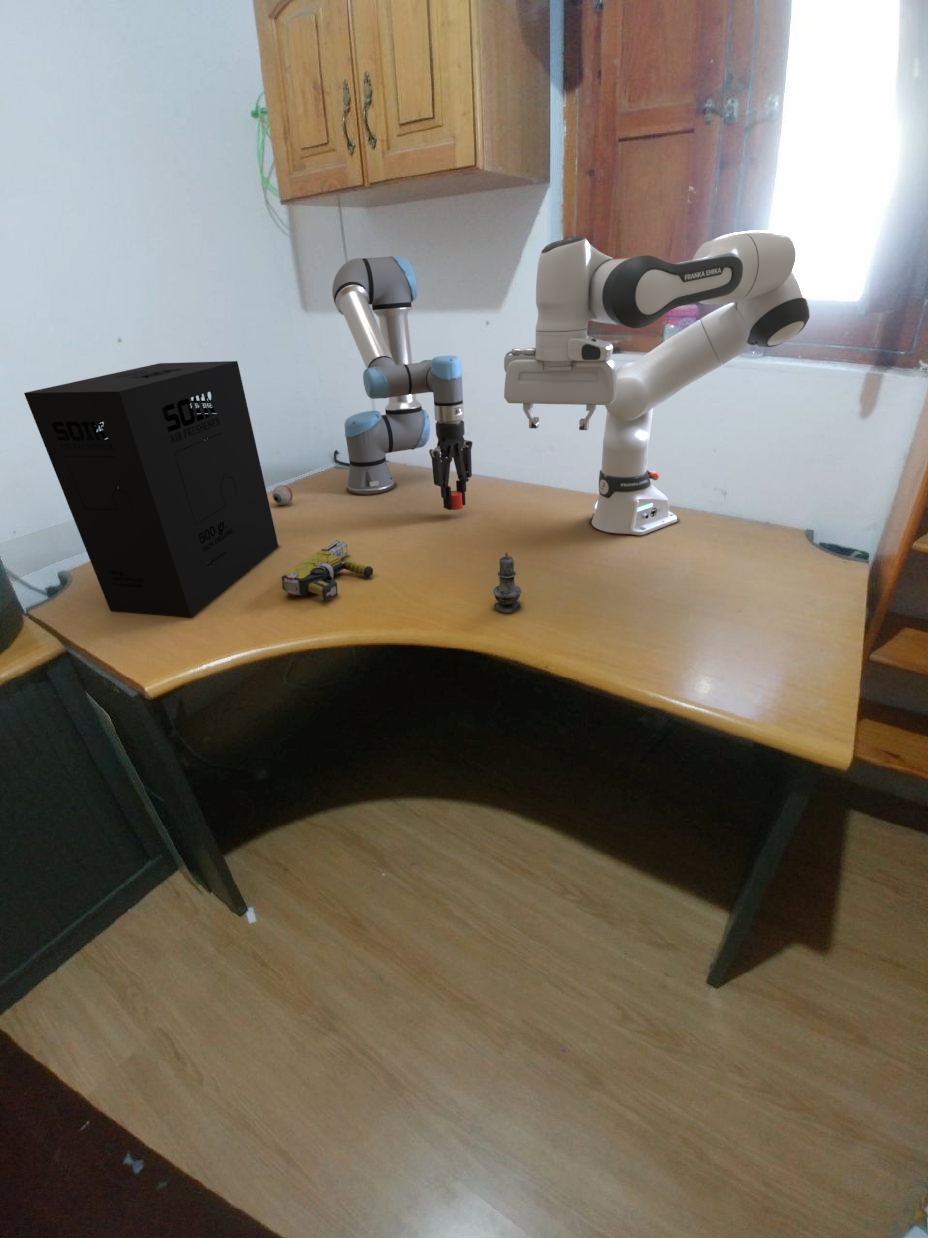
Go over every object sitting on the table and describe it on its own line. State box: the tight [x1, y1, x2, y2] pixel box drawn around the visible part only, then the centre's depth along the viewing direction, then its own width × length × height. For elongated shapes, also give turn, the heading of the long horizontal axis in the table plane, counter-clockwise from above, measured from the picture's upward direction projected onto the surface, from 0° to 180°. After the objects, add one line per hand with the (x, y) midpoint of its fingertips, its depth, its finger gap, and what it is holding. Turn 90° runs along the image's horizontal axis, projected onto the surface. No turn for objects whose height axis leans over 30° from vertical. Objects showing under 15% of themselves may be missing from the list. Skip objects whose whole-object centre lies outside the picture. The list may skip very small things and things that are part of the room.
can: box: [451, 490, 464, 511], centre depth 168 cm, size 4×4×4 cm
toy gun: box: [281, 539, 374, 603], centre depth 138 cm, size 5×24×15 cm
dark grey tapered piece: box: [492, 552, 523, 613], centre depth 120 cm, size 6×6×12 cm
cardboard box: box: [23, 360, 279, 618], centre depth 133 cm, size 38×20×45 cm, turn 167°
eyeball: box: [271, 484, 294, 506], centre depth 185 cm, size 6×6×6 cm
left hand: (454, 506), depth 169 cm, fingers closed on can, 4 cm apart
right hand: (558, 428), depth 112 cm, fingers open, 8 cm apart
